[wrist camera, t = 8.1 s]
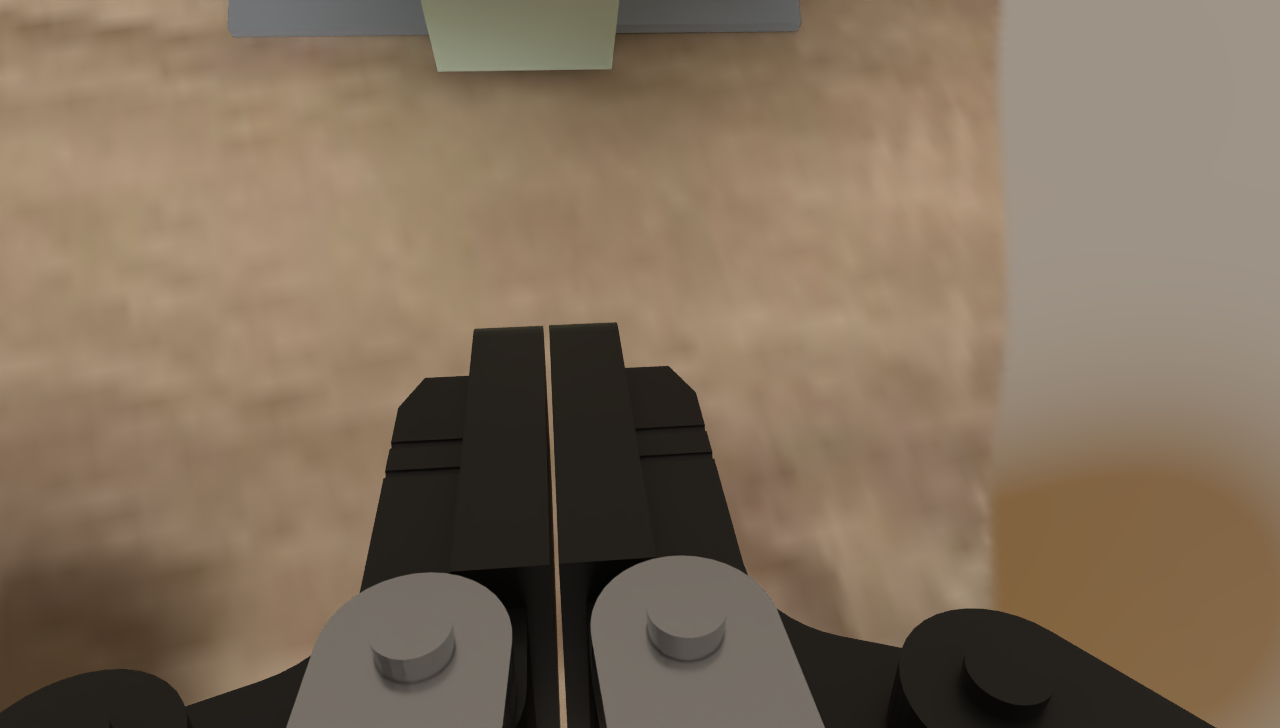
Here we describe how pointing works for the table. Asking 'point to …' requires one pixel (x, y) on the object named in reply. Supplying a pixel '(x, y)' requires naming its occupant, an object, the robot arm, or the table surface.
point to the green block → (521, 34)
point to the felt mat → (393, 7)
